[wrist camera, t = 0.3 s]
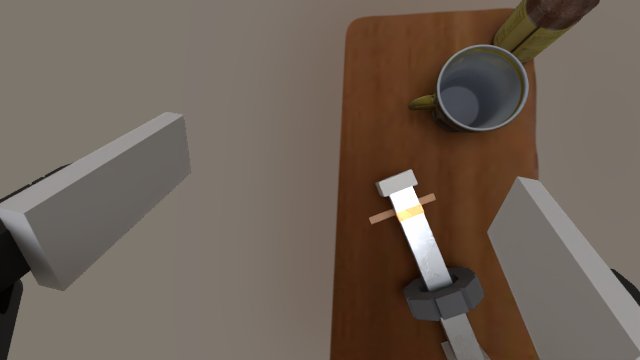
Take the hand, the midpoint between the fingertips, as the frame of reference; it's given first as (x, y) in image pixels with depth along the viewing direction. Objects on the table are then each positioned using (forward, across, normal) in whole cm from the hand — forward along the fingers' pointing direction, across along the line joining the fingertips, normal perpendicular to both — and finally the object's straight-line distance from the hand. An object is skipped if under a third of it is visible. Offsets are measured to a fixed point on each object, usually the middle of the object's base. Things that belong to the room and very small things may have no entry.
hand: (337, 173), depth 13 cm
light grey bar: (+20, -14, +24) cm, 34 cm away
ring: (+22, -15, +28) cm, 39 cm away
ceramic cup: (+36, -12, +8) cm, 39 cm away
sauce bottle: (+42, -20, -2) cm, 46 cm away
